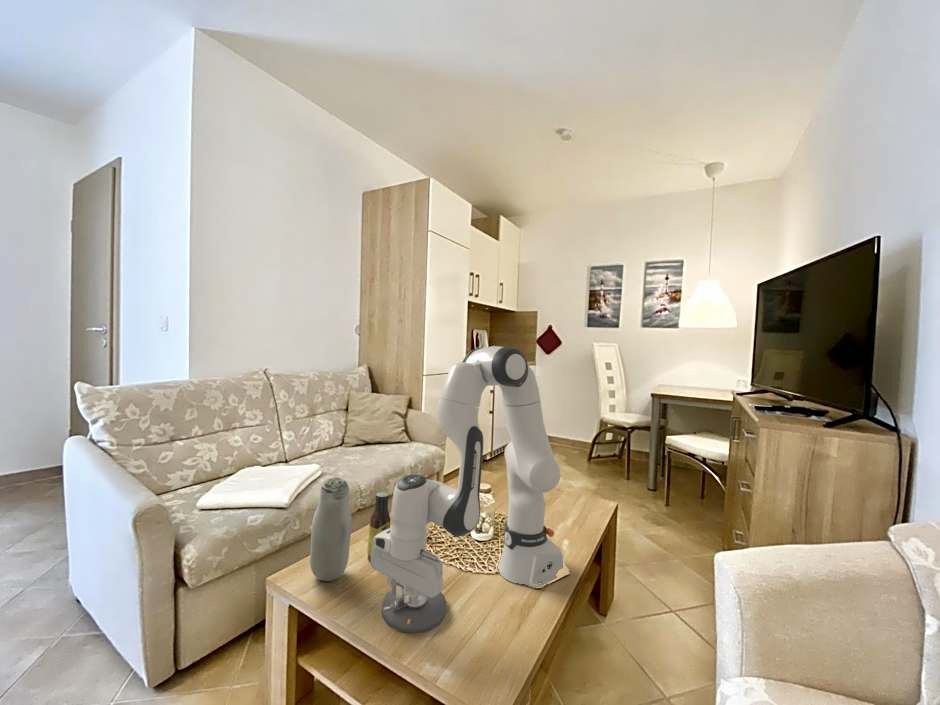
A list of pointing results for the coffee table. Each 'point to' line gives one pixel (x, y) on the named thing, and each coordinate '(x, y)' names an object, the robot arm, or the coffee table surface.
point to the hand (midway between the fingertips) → (403, 598)
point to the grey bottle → (331, 531)
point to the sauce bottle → (378, 519)
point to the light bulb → (406, 598)
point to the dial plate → (414, 614)
